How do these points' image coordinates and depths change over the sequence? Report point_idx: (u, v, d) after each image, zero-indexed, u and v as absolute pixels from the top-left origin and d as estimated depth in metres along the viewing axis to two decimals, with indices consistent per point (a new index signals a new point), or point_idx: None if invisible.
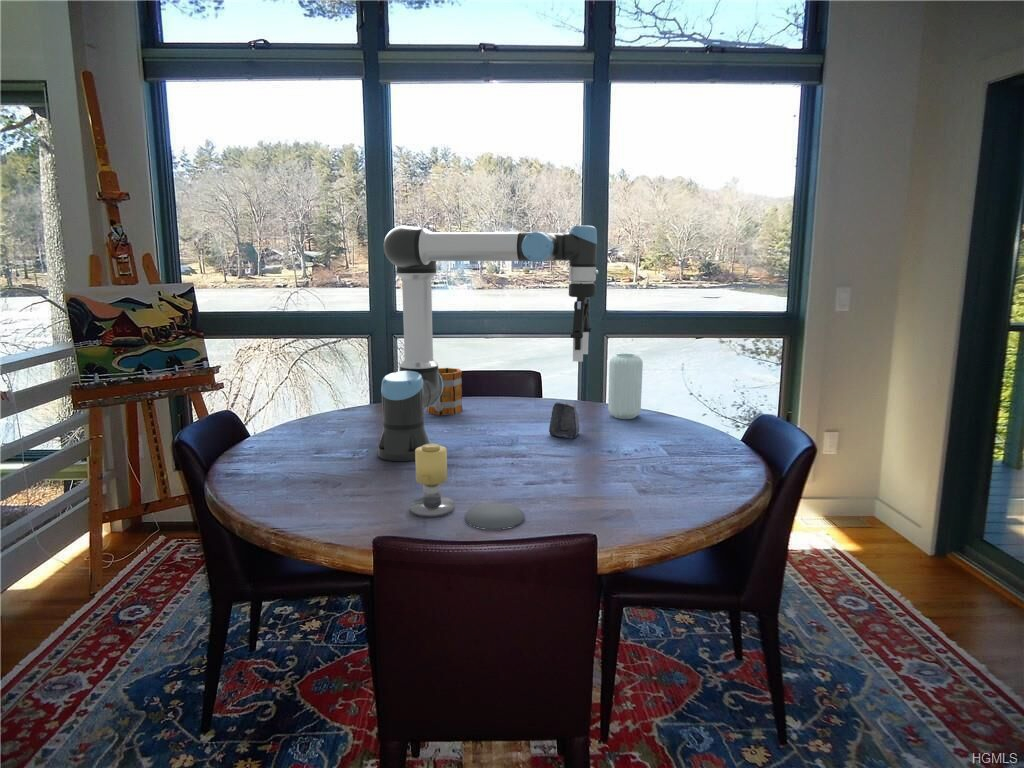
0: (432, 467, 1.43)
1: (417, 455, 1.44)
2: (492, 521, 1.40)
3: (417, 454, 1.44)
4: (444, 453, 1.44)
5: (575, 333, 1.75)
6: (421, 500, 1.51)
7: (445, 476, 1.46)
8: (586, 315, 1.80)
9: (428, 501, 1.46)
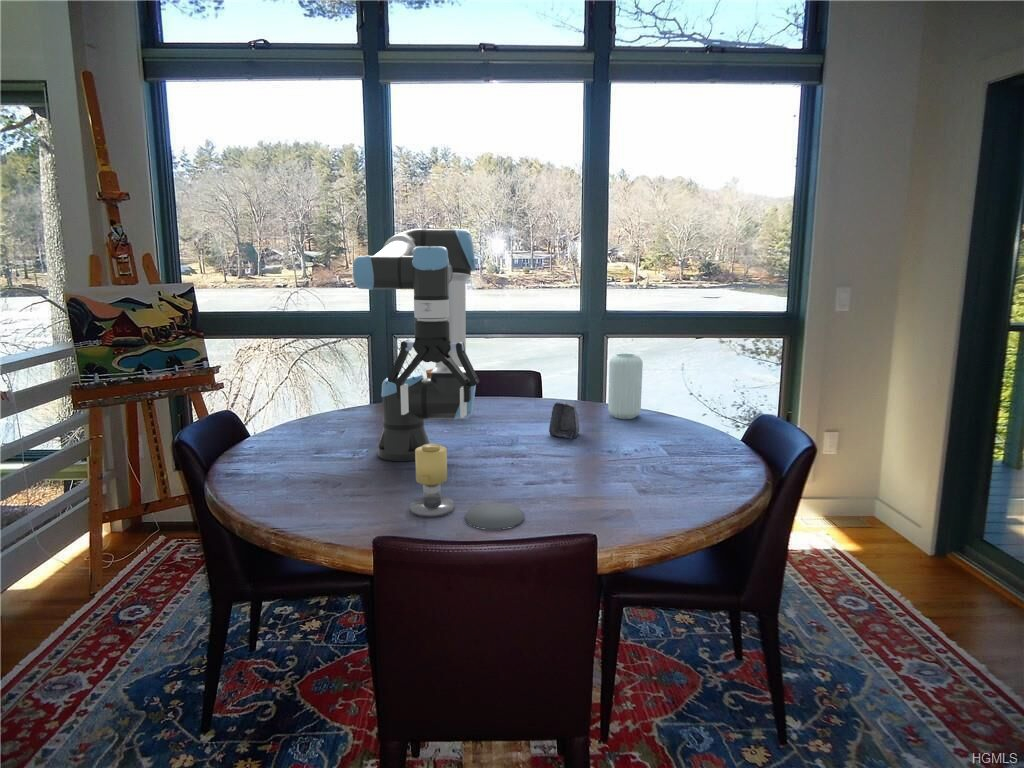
0: (432, 467, 1.43)
1: (417, 455, 1.44)
2: (492, 521, 1.40)
3: (417, 454, 1.44)
4: (444, 453, 1.44)
5: None
6: (421, 500, 1.51)
7: (445, 476, 1.46)
8: (416, 360, 1.41)
9: (428, 501, 1.46)
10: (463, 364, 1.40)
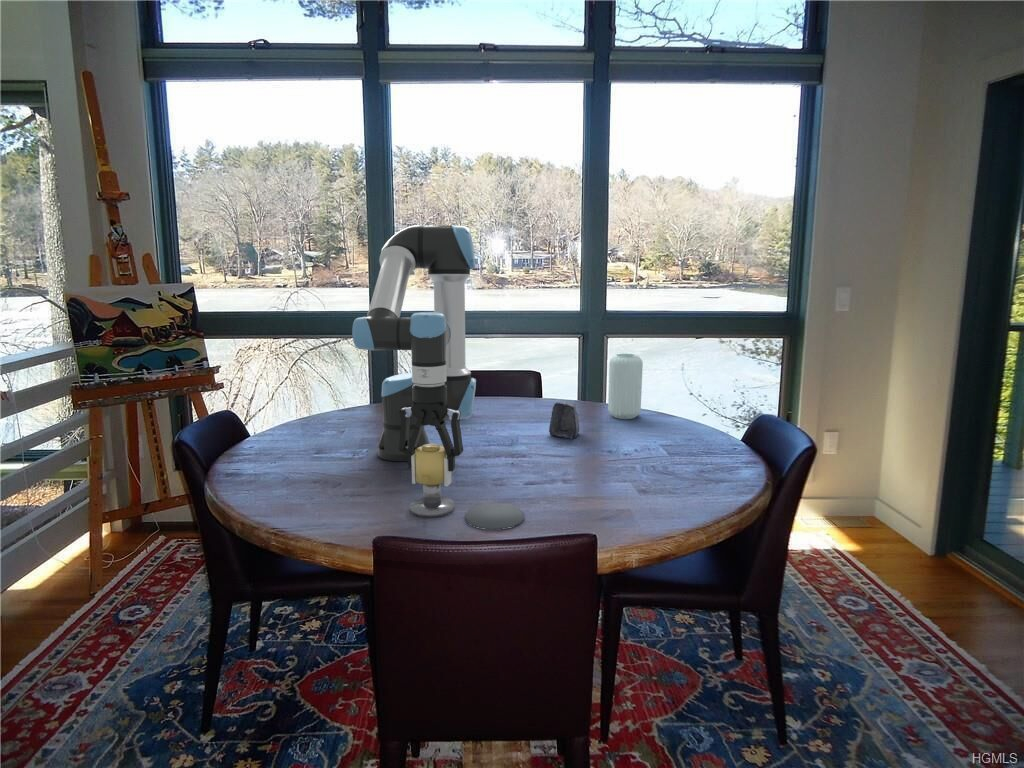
0: (432, 467, 1.43)
1: (417, 455, 1.44)
2: (492, 521, 1.40)
3: (417, 454, 1.44)
4: (444, 453, 1.44)
5: None
6: (421, 500, 1.51)
7: None
8: (418, 426, 1.43)
9: (428, 501, 1.46)
10: (453, 433, 1.42)
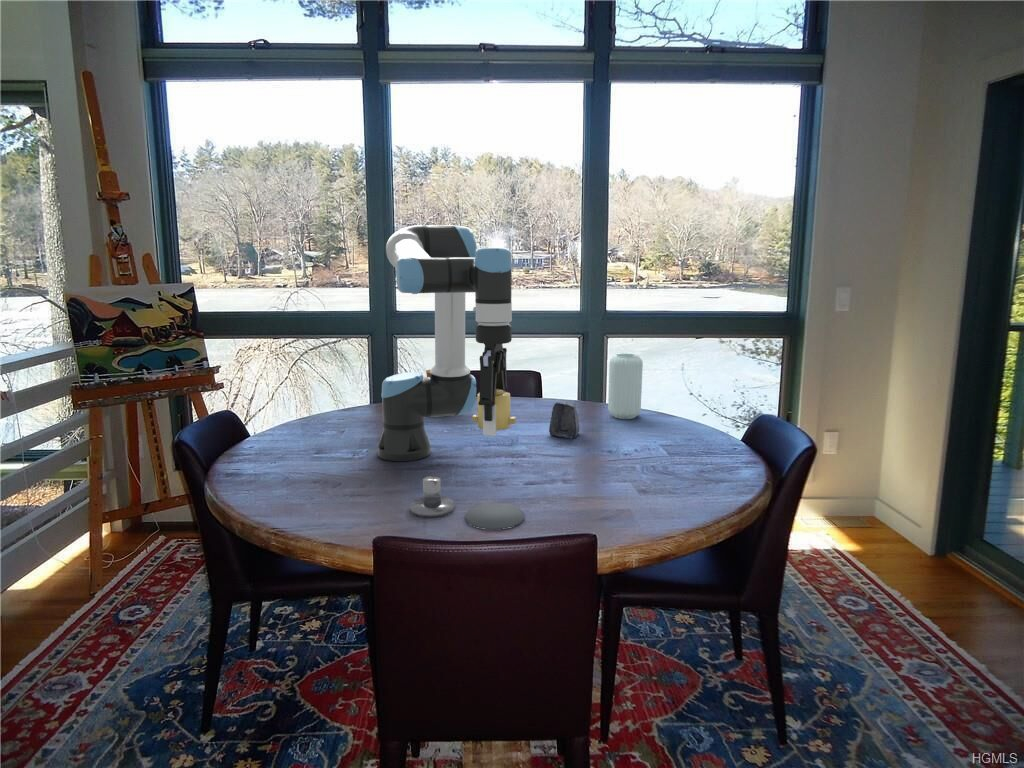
0: None
1: None
2: (492, 521, 1.40)
3: None
4: None
5: None
6: (421, 500, 1.51)
7: None
8: None
9: (428, 501, 1.46)
10: None
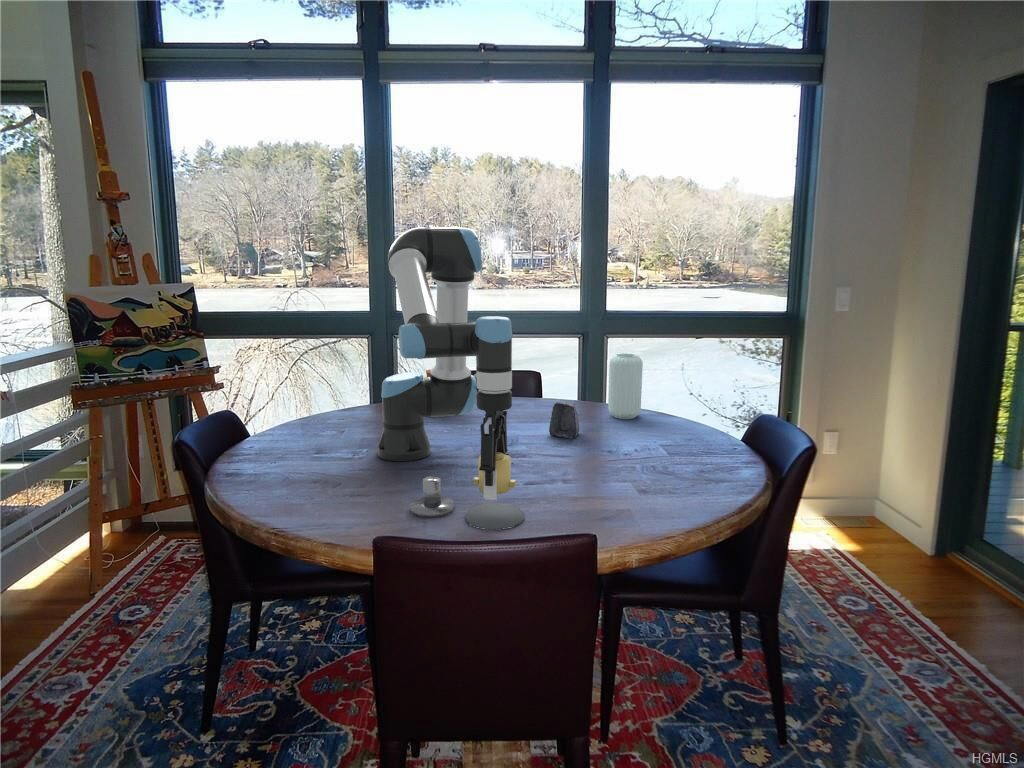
0: (478, 471, 1.41)
1: None
2: (492, 521, 1.40)
3: None
4: None
5: None
6: (421, 500, 1.51)
7: None
8: None
9: (428, 501, 1.46)
10: None
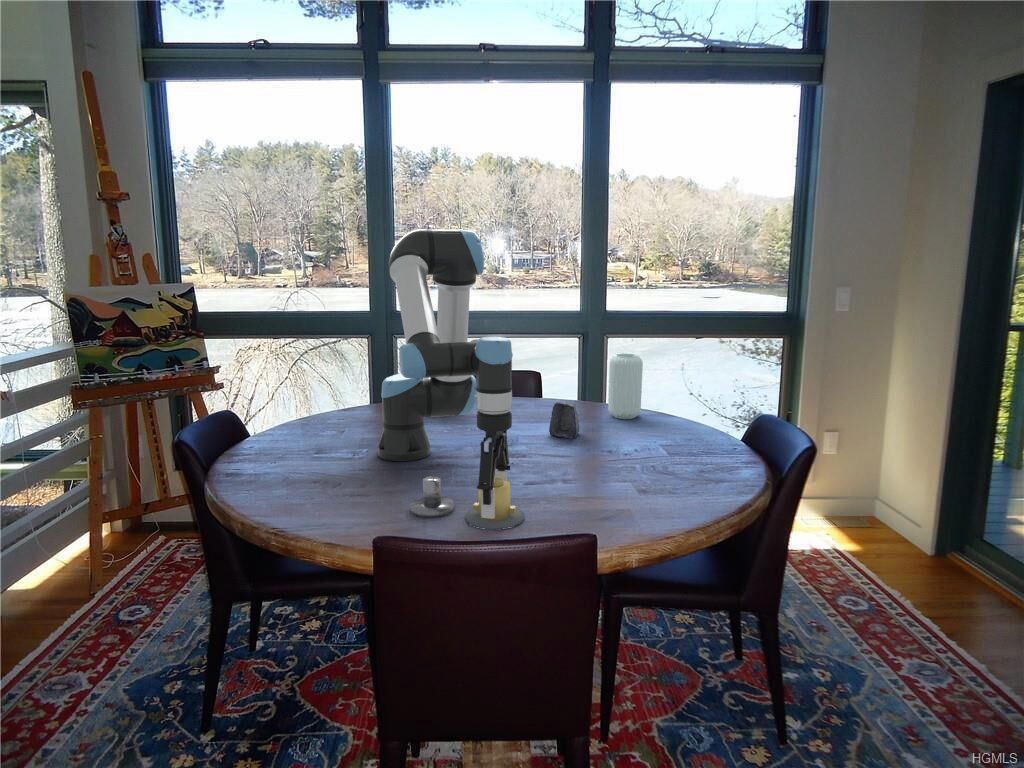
0: (478, 498, 1.42)
1: None
2: (492, 521, 1.40)
3: None
4: None
5: None
6: (421, 500, 1.51)
7: None
8: None
9: (428, 501, 1.46)
10: None
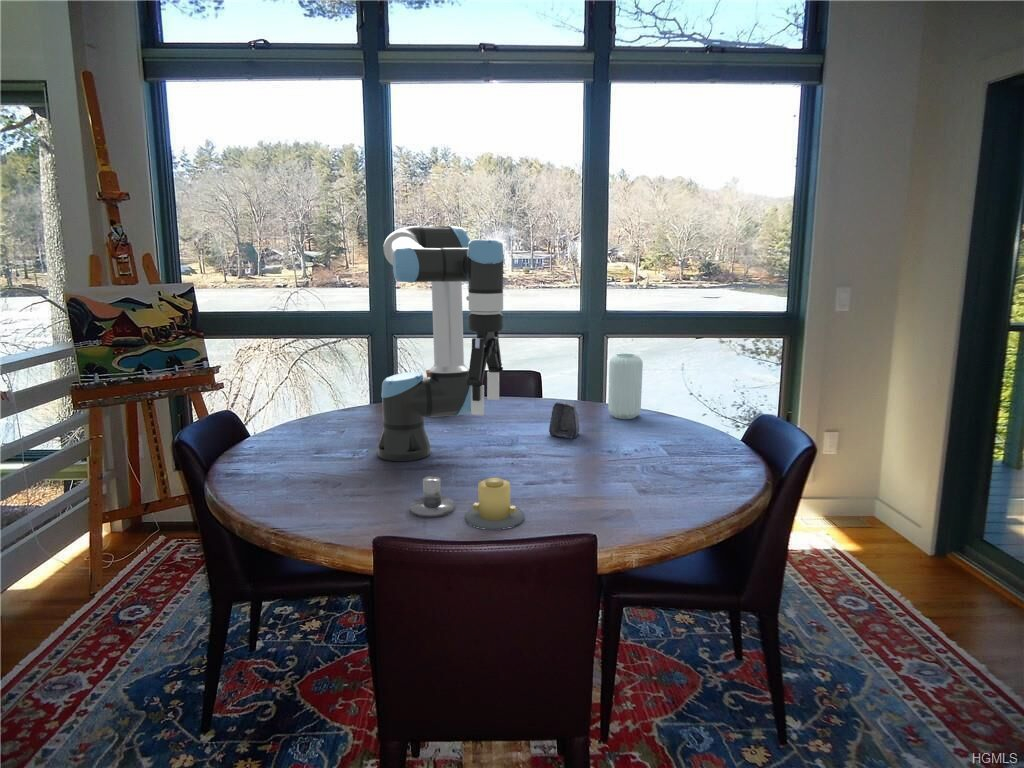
0: (478, 498, 1.42)
1: None
2: (492, 521, 1.40)
3: None
4: (487, 491, 1.39)
5: None
6: (421, 500, 1.51)
7: (488, 515, 1.40)
8: None
9: (428, 501, 1.46)
10: None
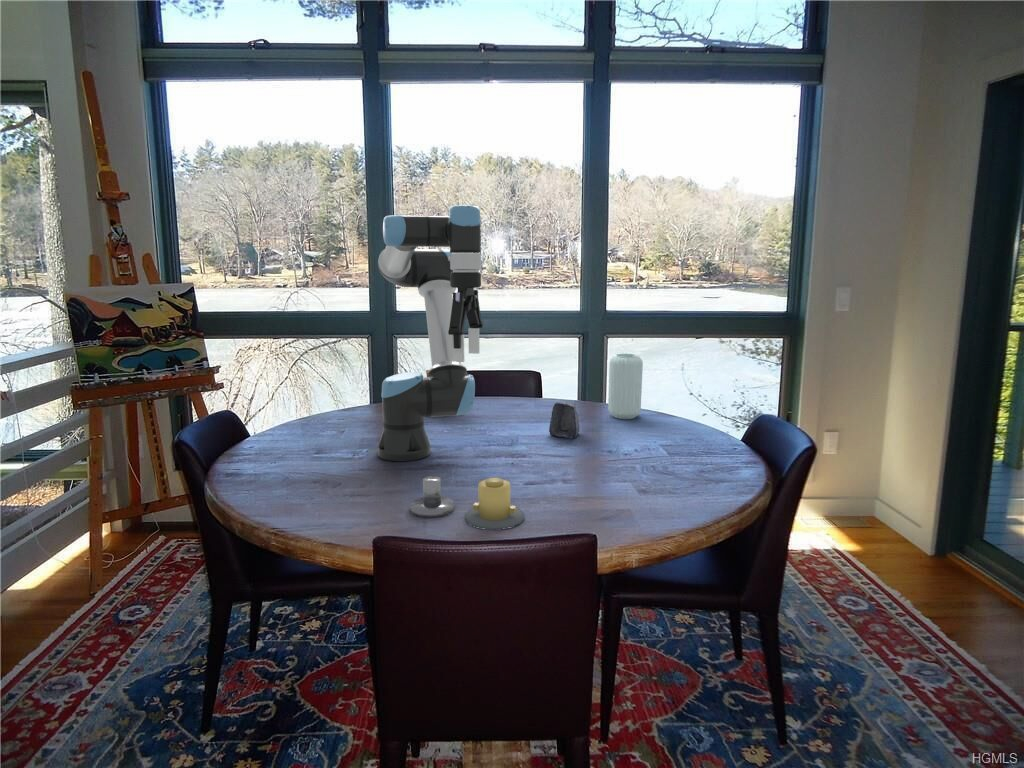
0: (478, 498, 1.42)
1: None
2: (492, 521, 1.40)
3: None
4: (487, 491, 1.39)
5: None
6: (421, 500, 1.51)
7: (488, 515, 1.40)
8: None
9: (428, 501, 1.46)
10: None
